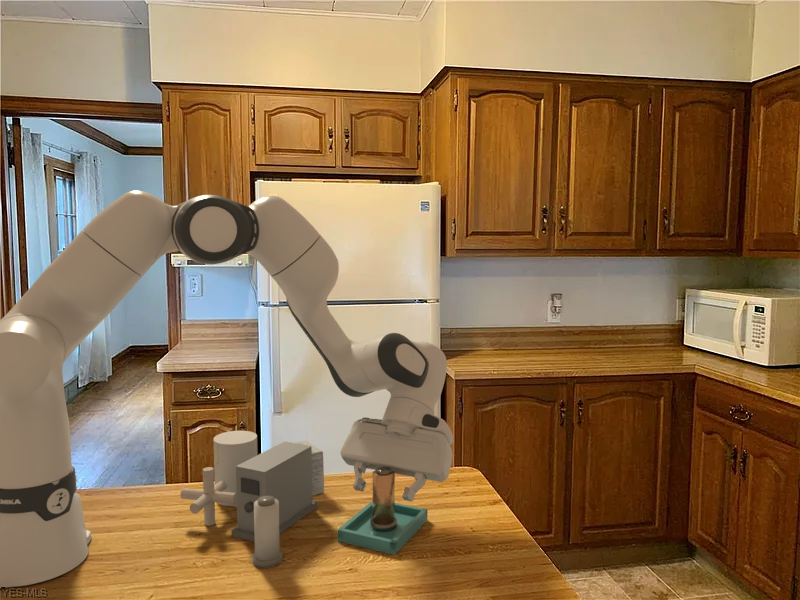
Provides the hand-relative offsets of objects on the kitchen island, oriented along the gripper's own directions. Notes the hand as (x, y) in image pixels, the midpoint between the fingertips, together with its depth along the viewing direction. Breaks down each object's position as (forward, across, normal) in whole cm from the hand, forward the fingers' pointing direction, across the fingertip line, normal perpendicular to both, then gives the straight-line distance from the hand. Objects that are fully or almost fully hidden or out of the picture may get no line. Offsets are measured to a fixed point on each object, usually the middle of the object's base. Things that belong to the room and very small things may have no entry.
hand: (382, 494), depth 110 cm
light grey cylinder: (+4, -32, +5) cm, 33 cm away
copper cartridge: (+4, 0, +5) cm, 6 cm away
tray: (+4, 0, +5) cm, 7 cm away
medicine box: (-2, -22, +12) cm, 25 cm away
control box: (+8, -19, +2) cm, 21 cm away
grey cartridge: (+16, -12, -7) cm, 21 cm away
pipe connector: (+12, -29, -2) cm, 31 cm away
